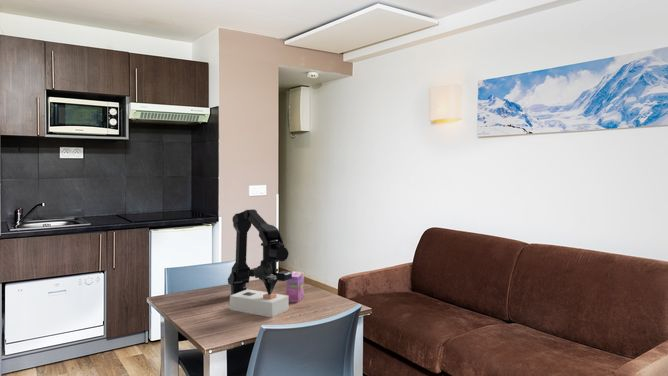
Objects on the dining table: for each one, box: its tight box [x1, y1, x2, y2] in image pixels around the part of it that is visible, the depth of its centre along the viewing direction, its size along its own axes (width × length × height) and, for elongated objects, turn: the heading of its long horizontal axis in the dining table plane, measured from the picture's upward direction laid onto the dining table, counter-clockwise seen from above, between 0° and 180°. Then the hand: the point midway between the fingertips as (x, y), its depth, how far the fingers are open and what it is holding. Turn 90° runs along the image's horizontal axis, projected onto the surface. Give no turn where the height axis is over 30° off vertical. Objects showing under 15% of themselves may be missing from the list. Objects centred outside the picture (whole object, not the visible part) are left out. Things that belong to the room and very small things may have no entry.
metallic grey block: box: [242, 292, 255, 296], centre depth 198 cm, size 4×4×6 cm
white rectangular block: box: [229, 288, 290, 318], centre depth 195 cm, size 22×12×6 cm, turn 63°
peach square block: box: [263, 292, 277, 299], centre depth 192 cm, size 4×4×6 cm
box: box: [285, 271, 305, 303], centre depth 211 cm, size 10×6×12 cm, turn 168°
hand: (269, 294), depth 192 cm, fingers closed, pressing on peach square block
